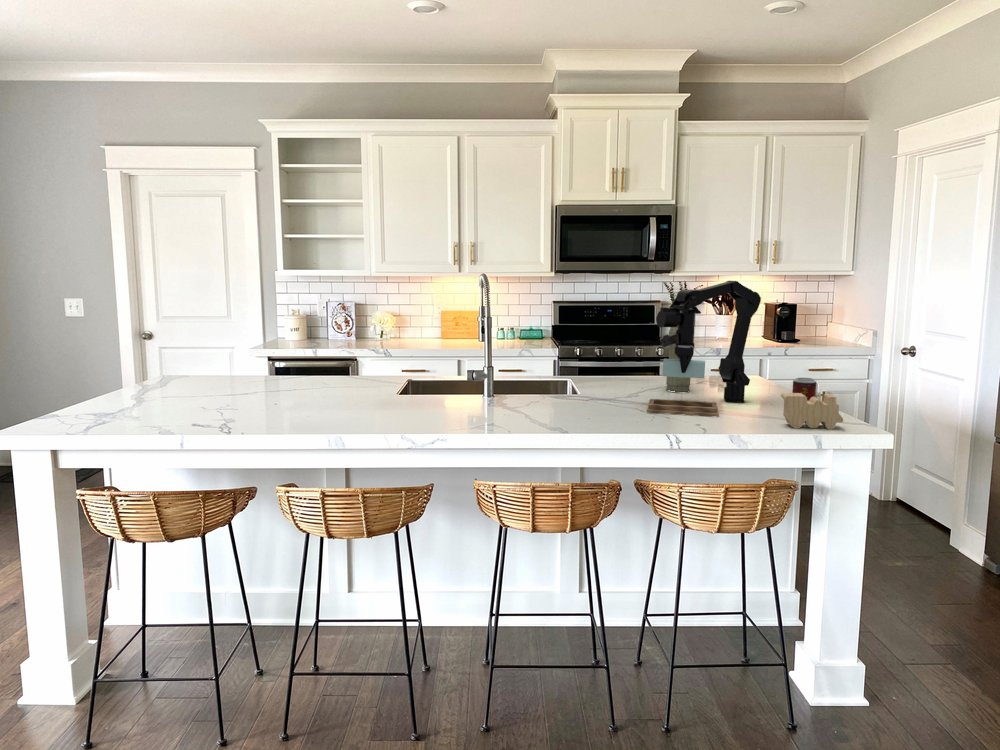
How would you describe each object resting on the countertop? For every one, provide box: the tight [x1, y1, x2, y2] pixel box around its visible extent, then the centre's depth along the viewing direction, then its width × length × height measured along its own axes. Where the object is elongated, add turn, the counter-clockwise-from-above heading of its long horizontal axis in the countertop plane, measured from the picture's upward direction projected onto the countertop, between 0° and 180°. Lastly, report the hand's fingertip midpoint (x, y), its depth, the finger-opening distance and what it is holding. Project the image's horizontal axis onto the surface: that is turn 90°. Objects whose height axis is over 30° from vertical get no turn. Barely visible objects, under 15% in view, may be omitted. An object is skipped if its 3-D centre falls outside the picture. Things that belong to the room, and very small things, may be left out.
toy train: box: [780, 392, 844, 430], centre depth 219 cm, size 6×17×10 cm, turn 82°
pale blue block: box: [659, 358, 706, 379], centre depth 250 cm, size 15×5×6 cm, turn 74°
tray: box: [645, 398, 720, 417], centre depth 241 cm, size 23×13×2 cm, turn 75°
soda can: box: [791, 377, 818, 401], centre depth 234 cm, size 7×7×12 cm
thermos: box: [666, 308, 691, 393], centre depth 275 cm, size 9×12×35 cm
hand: (683, 371), depth 250 cm, fingers closed on pale blue block, 5 cm apart
